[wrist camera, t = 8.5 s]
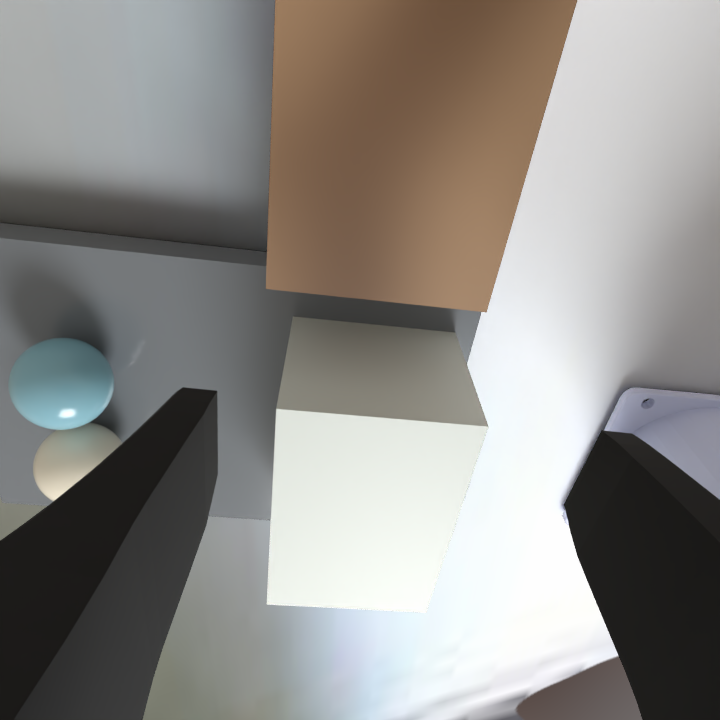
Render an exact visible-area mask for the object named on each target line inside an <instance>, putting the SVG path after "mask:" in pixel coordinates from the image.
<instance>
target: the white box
mask: <svg viewBox="0 0 720 720" xmlns="http://www.w3.org/2000/svg"><path fill="white" fill-rule="evenodd" d="M487 430H488V424H487V421H486V418H485V415H484V413H483V410H482V407H481V404H480V401H479V398H478V395H477V393H476V390H475V387H474V384H473V381H472V378H471V376H470V373H469V370H468V367H467V364H466V361H465V358H464V356H463V353H462V350H461V347H460V344H459V341H458V338H457V336H456V333H455V332H445V331H434V330H424V329H414V328H404V327H394V326H384V325H374V324H364V323H354V322H344V321H334V320H324V319H314V318H303V317H293V319H292V325H291V330H290V336H289V341H288V347H287V352H286V358H285V363H284V369H283V374H282V380H281V385H280V391H279V396H278V402H277V407H276V424H275V445H274V465H273V486H272V507H271V528H270V548H269V569H268V590H267V604H268V605H288V606H307V607H326V608H345V609H365V610H384V611H403V612H422V613H426V612H427V609H428V606H429V603H430V600H431V597H432V594H433V591H434V588H435V585H436V582H437V579H438V576H439V573H440V570H441V567H442V564H443V561H444V558H445V555H446V552H447V549H448V546H449V543H450V540H451V537H452V534H453V531H454V528H455V525H456V522H457V519H458V516H459V513H460V510H461V507H462V504H463V501H464V498H465V495H466V492H467V489H468V486H469V483H470V480H471V477H472V474H473V471H474V468H475V465H476V462H477V459H478V456H479V453H480V450H481V447H482V444H483V441H484V438H485V436H486V433H487Z"/></svg>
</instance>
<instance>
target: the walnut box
mask: <svg viewBox="0 0 720 720" xmlns="http://www.w3.org/2000/svg"><path fill="white" fill-rule="evenodd" d="M576 3H577V0H275V24H274V54H273V85H272V115H271V145H270V175H269V206H268V236H267V266H266V289H271V290H281V291H290V292H300V293H309V294H319V295H328V296H337V297H347V298H356V299H366V300H375V301H385V302H394V303H404V304H413V305H422V306H432V307H441V308H451V309H460V310H470V311H479V312H487V308H488V305H489V302H490V298H491V295H492V291H493V288H494V284H495V281H496V277H497V274H498V271H499V267H500V264H501V260H502V257H503V253H504V250H505V247H506V243H507V240H508V236H509V233H510V229H511V226H512V223H513V219H514V216H515V212H516V209H517V205H518V202H519V199H520V195H521V192H522V188H523V185H524V181H525V178H526V174H527V171H528V168H529V164H530V161H531V157H532V154H533V150H534V147H535V144H536V140H537V137H538V133H539V130H540V126H541V123H542V120H543V116H544V113H545V109H546V106H547V102H548V99H549V95H550V92H551V89H552V85H553V82H554V78H555V75H556V71H557V68H558V65H559V61H560V58H561V54H562V51H563V47H564V44H565V41H566V37H567V34H568V30H569V27H570V23H571V20H572V17H573V13H574V10H575V6H576Z"/></svg>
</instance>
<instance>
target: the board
mask: <svg viewBox="0 0 720 720" xmlns="http://www.w3.org/2000/svg"><path fill="white" fill-rule="evenodd" d="M266 266H267V252H262V251H253V250H244V249H235V248H226V247H216V246H207V245H198V244H189V243H180V242H171V241H161V240H152V239H143V238H134V237H125V236H116V235H107V234H97V233H88V232H79V231H70V230H61V229H52V228H43V227H33V226H24V225H15V224H6V223H0V497H1V500H2V503H14V504H29V505H44V506H48V505H50V504H51V503H52V502H53V501H52V500H50V499H49V498H47V497H46V496H45V495H44V494H43V493H42V492H41V491H40V489H39V488H38V486H37V484H36V482H35V479H34V475H33V462H34V457H35V455H36V452H37V450H38V448H39V446H40V445H41V443H42V442H43V441H44V440H45V439H46V438H47V437H48V436H49V435H50V434H51V433H53V432H54V431H56V430H53V429H47V428H43V427H40V426H38V425H36V424H34V423H32V422H30V421H28V420H27V419H26V418H24V417H23V416H22V415H21V414H20V413H19V412H18V411H17V409H16V408H15V406H14V404H13V403H12V401H11V398H10V394H9V390H8V381H9V375H10V372H11V369H12V367H13V365H14V363H15V361H16V360H17V359H18V357H19V356H20V355H21V354H22V353H23V352H24V351H26V350H27V349H28V348H29V347H31V346H33V345H35V344H37V343H39V342H42V341H44V340H47V339H52V338H72V339H77V340H81V341H84V342H86V343H88V344H90V345H92V346H94V347H95V348H96V349H98V350H99V351H100V352H101V353H102V354H103V355H104V356H105V357H106V359H107V360H108V362H109V364H110V366H111V368H112V371H113V375H114V391H113V395H112V398H111V400H110V402H109V404H108V406H107V407H106V408H105V409H104V411H103V412H102V413H101V414H100V415H99V416H98V417H97V418H95V419H94V420H92V421H91V422H89V423H95V424H99V425H102V426H104V427H106V428H108V429H110V430H111V431H112V432H114V433H115V434H116V435H117V436H118V438H119V439H120V440H121V442H122V443H123V442H124V441H125V440H126V439H128V438H129V437H130V436H131V435H132V434H133V433H134V432H135V431H136V430H137V429H138V428H139V427H140V426H142V425H143V424H144V423H145V422H146V421H147V420H148V419H149V418H150V417H151V416H152V415H153V414H154V413H155V412H156V411H157V410H158V409H159V408H160V407H161V406H162V405H163V404H164V403H165V402H166V401H167V400H168V399H169V398H170V397H171V396H172V395H174V394H175V393H176V392H177V391H178V390H179V389H181V388H182V387H186V388H196V389H205V390H215V391H217V404H218V476H217V480H216V485H215V489H214V494H213V498H212V503H211V507H210V511H209V515H208V516H212V517H227V518H242V519H258V520H271V507H272V486H273V465H274V445H275V424H276V407H277V402H278V396H279V391H280V385H281V380H282V374H283V369H284V363H285V358H286V352H287V347H288V341H289V336H290V330H291V325H292V319H293V317H303V318H314V319H324V320H334V321H344V322H354V323H364V324H374V325H384V326H394V327H404V328H414V329H424V330H434V331H445V332H455V333H456V336H457V338H458V341H459V344H460V347H461V350H462V353H463V356H464V358H465V361H466V364H467V362H468V358H469V355H470V351H471V347H472V344H473V340H474V337H475V333H476V330H477V326H478V323H479V319H480V316H481V312H479V311H470V310H460V309H451V308H441V307H432V306H422V305H413V304H404V303H394V302H385V301H375V300H366V299H356V298H347V297H337V296H328V295H319V294H309V293H300V292H290V291H281V290H271V289H266Z"/></svg>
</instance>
